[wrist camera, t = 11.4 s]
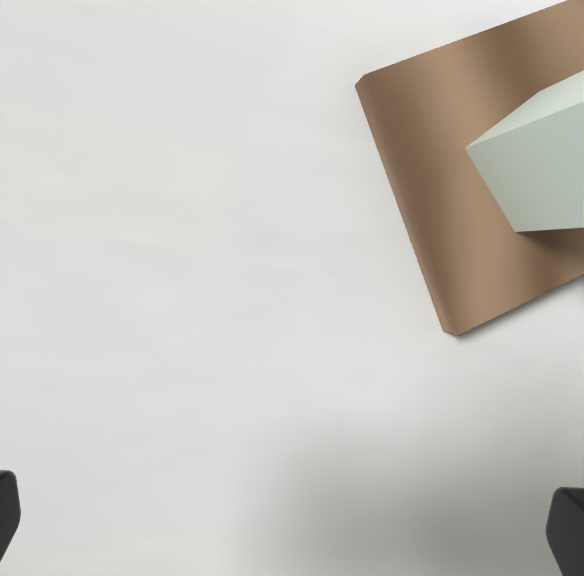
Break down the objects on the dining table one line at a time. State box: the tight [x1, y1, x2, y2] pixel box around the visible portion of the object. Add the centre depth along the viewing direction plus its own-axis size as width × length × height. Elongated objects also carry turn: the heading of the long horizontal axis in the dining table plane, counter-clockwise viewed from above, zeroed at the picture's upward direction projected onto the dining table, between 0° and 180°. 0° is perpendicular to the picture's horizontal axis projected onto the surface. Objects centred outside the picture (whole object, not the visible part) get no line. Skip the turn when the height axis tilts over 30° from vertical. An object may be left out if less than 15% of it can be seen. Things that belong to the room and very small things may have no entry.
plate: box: [355, 0, 584, 336], centre depth 21 cm, size 12×12×1 cm
